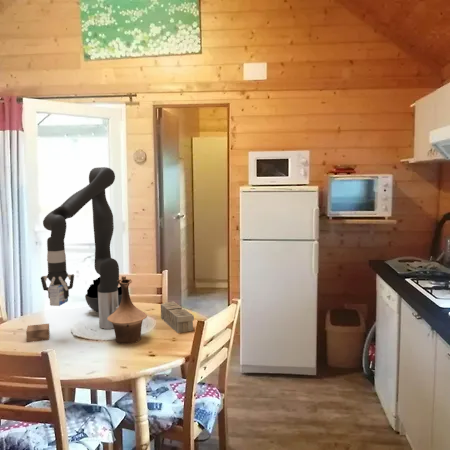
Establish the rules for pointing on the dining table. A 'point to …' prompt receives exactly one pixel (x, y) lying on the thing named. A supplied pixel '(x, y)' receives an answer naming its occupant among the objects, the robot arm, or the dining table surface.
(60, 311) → the dining table surface
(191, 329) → the block tower
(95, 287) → the bowl of black rocks
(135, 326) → the brown clay vase
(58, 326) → the dining table surface
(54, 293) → the medicine box
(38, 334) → the walnut block
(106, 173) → the robot arm
